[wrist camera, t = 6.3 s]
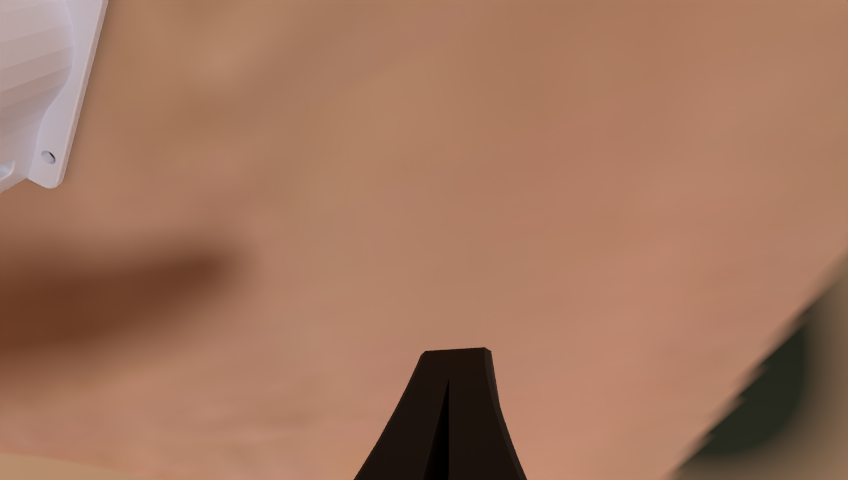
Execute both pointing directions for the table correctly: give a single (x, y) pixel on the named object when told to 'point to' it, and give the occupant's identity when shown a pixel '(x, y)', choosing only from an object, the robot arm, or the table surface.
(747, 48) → the table surface
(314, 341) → the table surface
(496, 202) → the table surface
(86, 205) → the table surface
